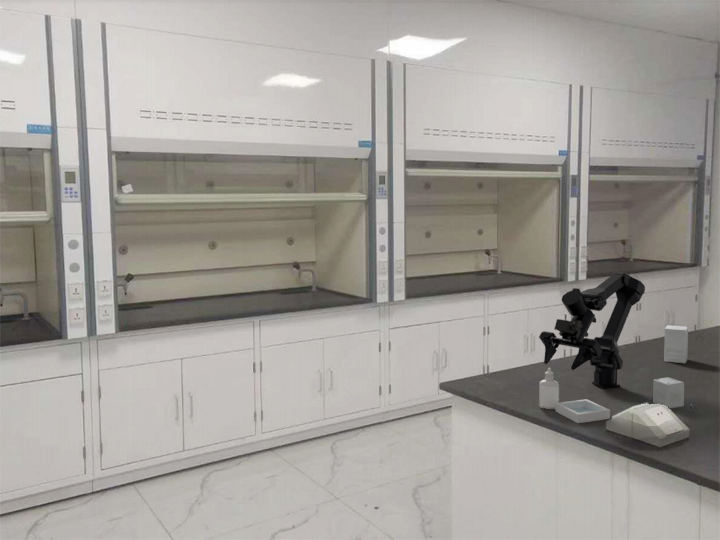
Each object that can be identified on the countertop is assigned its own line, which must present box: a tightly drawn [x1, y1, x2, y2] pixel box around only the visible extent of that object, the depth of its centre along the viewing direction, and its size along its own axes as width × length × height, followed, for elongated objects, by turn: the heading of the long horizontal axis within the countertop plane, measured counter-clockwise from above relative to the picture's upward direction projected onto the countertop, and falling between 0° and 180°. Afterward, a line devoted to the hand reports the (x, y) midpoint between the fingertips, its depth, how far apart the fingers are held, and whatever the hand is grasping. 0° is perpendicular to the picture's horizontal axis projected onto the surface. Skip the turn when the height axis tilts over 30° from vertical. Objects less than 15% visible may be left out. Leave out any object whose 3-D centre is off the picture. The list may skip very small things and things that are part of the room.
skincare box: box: [652, 377, 685, 409], centre depth 188 cm, size 6×6×7 cm
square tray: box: [555, 398, 611, 424], centre depth 181 cm, size 10×10×2 cm
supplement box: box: [663, 324, 689, 364], centre depth 237 cm, size 7×7×13 cm
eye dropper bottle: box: [538, 367, 560, 410], centre depth 188 cm, size 4×6×12 cm
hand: (558, 366), depth 190 cm, fingers open, 9 cm apart
